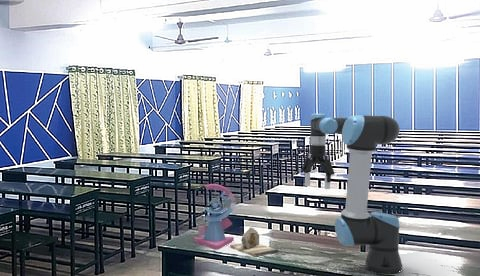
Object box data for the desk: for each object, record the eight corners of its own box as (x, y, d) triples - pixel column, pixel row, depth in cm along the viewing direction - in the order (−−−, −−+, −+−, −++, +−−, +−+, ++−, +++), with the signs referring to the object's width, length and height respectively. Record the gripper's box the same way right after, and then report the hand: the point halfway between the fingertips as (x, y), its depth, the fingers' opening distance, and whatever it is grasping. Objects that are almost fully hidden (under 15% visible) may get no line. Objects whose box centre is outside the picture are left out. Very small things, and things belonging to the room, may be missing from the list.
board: (278, 252, 237) (278, 250, 237) (255, 256, 230) (255, 254, 229) (252, 243, 254) (252, 241, 254) (229, 247, 246) (230, 244, 246)
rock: (249, 239, 252) (248, 222, 248) (260, 243, 249) (260, 225, 245) (236, 252, 242) (236, 234, 238) (248, 256, 239) (248, 238, 235)
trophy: (233, 240, 259) (234, 182, 257) (237, 249, 242) (238, 186, 241) (193, 241, 256) (194, 182, 255) (195, 250, 239) (196, 187, 238)
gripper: (342, 145, 244) (341, 189, 245) (305, 143, 264) (304, 184, 265) (331, 146, 239) (330, 191, 240) (295, 143, 259) (294, 185, 260)
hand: (317, 187), depth 252 cm, fingers open, 13 cm apart
